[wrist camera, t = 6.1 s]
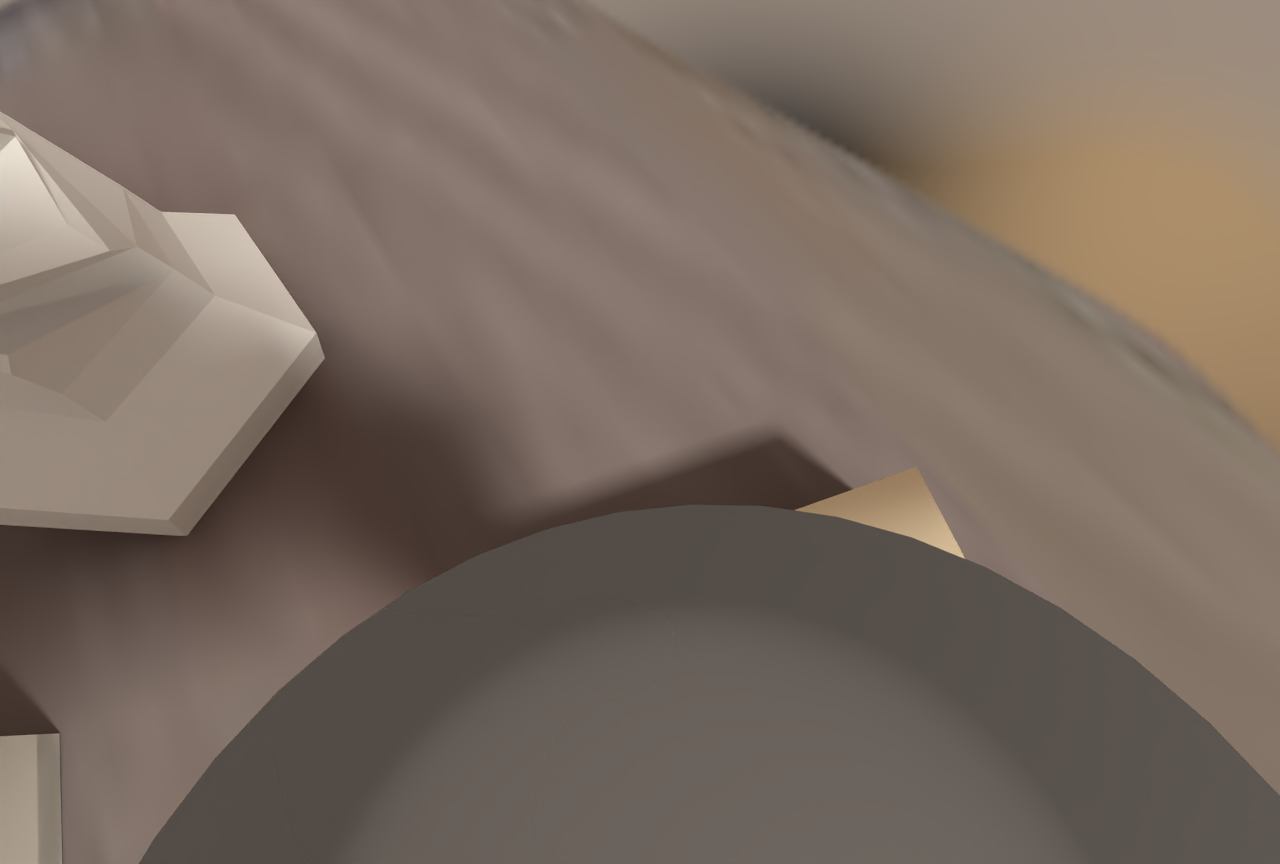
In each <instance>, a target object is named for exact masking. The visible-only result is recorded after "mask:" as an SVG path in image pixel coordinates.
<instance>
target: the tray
mask: <svg viewBox="0 0 1280 864" xmlns="http://www.w3.org/2000/svg"><path fill="white" fill-rule="evenodd" d="M0 864H62V829H61V782H60V736H59V733H56V734H37V735H17V736H0Z"/></svg>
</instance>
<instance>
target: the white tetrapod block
mask: <svg viewBox="0 0 1280 864" xmlns="http://www.w3.org/2000/svg"><path fill="white" fill-rule="evenodd" d="M324 359H325V357H324V354H323V351H322V348H321V345H320V342H319V339H318V336H317V333H316V332H315V330H314V329H313V327H312V326H311V324H310V323H309V322H308V320H307V319H306V317H305V316H304V314H303V313H302V311H301V310H300V309H299V307H298V306H297V304H296V303H295V301H294V300H293V298H292V297H291V296H290V294H289V293H288V291H287V290H286V288H285V287H284V285H283V284H282V282H281V281H280V280H279V278H278V277H277V275H276V274H275V272H274V271H273V269H272V268H271V267H270V265H269V264H268V262H267V261H266V259H265V258H264V256H263V255H262V254H261V252H260V251H259V249H258V248H257V246H256V245H255V243H254V242H253V240H252V239H251V238H250V236H249V235H248V233H247V232H246V230H245V229H244V227H243V226H242V225H241V223H240V222H239V220H238V219H237V217H236V216H235V215H232V214H205V213H178V212H161V211H159V210H157V209H156V208H154V207H153V206H151V205H150V204H148V203H147V202H145V201H144V200H142V199H141V198H139V197H138V196H136V195H135V194H133V193H132V192H130V191H129V190H127V189H126V188H124V187H122V186H121V185H119V184H118V183H116V182H114V181H113V180H111V179H109V178H108V177H106V176H105V175H103V174H101V173H100V172H98V171H96V170H95V169H93V168H91V167H90V166H88V165H87V164H85V163H83V162H82V161H80V160H78V159H77V158H75V157H74V156H72V155H70V154H69V153H67V152H65V151H64V150H62V149H60V148H59V147H57V146H56V145H54V144H52V143H51V142H49V141H47V140H46V139H44V138H42V137H41V136H39V135H38V134H36V133H34V132H33V131H31V130H29V129H28V128H26V127H25V126H23V125H21V124H20V123H18V122H16V121H15V120H13V119H11V118H10V117H8V116H7V115H5V114H3V113H2V112H0V525H14V526H30V527H46V528H62V529H78V530H94V531H110V532H126V533H142V534H158V535H174V536H187V535H188V534H189V533H190V531H191V530H192V529H193V528H194V526H195V525H196V524H197V522H198V521H199V520H200V519H201V517H202V516H203V515H204V513H205V512H206V511H207V510H208V508H209V507H210V506H211V504H212V503H213V502H214V501H215V499H216V498H217V497H218V495H219V494H220V493H221V492H222V490H223V489H224V488H225V486H226V485H227V484H228V482H229V481H230V480H231V479H232V477H233V476H234V475H235V473H236V472H237V471H238V470H239V468H240V467H241V466H242V464H243V463H244V462H245V461H246V459H247V458H248V457H249V455H250V454H251V453H252V452H253V450H254V449H255V448H256V446H257V445H258V444H259V442H260V441H261V440H262V439H263V437H264V436H265V435H266V433H267V432H268V431H269V430H270V428H271V427H272V426H273V424H274V423H275V422H276V421H277V419H278V418H279V417H280V415H281V414H282V413H283V412H284V410H285V409H286V408H287V406H288V405H289V404H290V403H291V401H292V400H293V399H294V397H295V396H296V395H297V393H298V392H299V391H300V390H301V388H302V387H303V386H304V384H305V383H306V382H307V381H308V379H309V378H310V377H311V375H312V374H313V373H314V372H315V370H316V369H317V368H318V366H319V365H320V364H321V363H322V361H323V360H324Z"/></svg>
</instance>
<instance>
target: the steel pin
mask: <svg viewBox="0 0 1280 864" xmlns="http://www.w3.org/2000/svg"><path fill="white" fill-rule="evenodd" d="M139 864H1280V796H1279V795H1278V794H1277V793H1276V792H1275V790H1274V789H1273V788H1272V787H1271V786H1270V785H1269V784H1268V783H1267V782H1266V781H1265V780H1264V779H1263V778H1262V777H1261V776H1260V775H1259V774H1258V773H1257V772H1256V771H1255V770H1254V769H1253V768H1252V767H1251V766H1250V765H1249V763H1248V762H1247V761H1246V760H1245V759H1244V758H1243V757H1242V756H1241V755H1240V754H1239V753H1238V752H1237V751H1236V750H1235V749H1234V748H1233V747H1232V746H1231V745H1230V744H1229V743H1228V742H1227V741H1226V740H1225V739H1224V737H1223V736H1222V735H1221V734H1220V733H1219V732H1218V731H1217V730H1216V729H1215V728H1214V727H1213V726H1212V725H1211V724H1210V723H1209V722H1208V721H1206V720H1205V719H1204V718H1203V717H1202V716H1201V715H1199V714H1198V713H1197V712H1196V711H1195V710H1194V709H1192V708H1191V707H1190V706H1189V705H1188V704H1187V703H1185V702H1184V701H1183V700H1182V699H1181V698H1180V697H1178V696H1177V695H1176V694H1175V693H1174V692H1173V691H1171V690H1170V689H1169V688H1168V687H1167V686H1166V685H1164V684H1163V683H1162V682H1161V681H1160V680H1159V679H1157V678H1156V677H1155V676H1154V675H1153V674H1152V673H1150V672H1149V671H1148V670H1147V669H1146V668H1144V667H1143V666H1142V665H1141V664H1140V663H1139V662H1137V661H1136V660H1135V659H1134V658H1132V657H1131V656H1129V655H1128V654H1126V653H1125V652H1123V651H1122V650H1121V649H1119V648H1118V647H1116V646H1115V645H1113V644H1112V643H1110V642H1109V641H1108V640H1106V639H1105V638H1103V637H1102V636H1100V635H1099V634H1097V633H1096V632H1095V631H1093V630H1092V629H1090V628H1089V627H1087V626H1086V625H1084V624H1083V623H1082V622H1080V621H1079V620H1077V619H1076V618H1074V617H1073V616H1071V615H1070V614H1069V613H1067V612H1066V611H1064V610H1063V609H1061V608H1060V607H1058V606H1056V605H1054V604H1052V603H1050V602H1049V601H1047V600H1045V599H1043V598H1041V597H1039V596H1038V595H1036V594H1034V593H1032V592H1030V591H1028V590H1027V589H1025V588H1023V587H1021V586H1019V585H1017V584H1015V583H1014V582H1012V581H1010V580H1008V579H1006V578H1004V577H1003V576H1001V575H999V574H997V573H995V572H993V571H992V570H990V569H988V568H986V567H984V566H981V565H979V564H976V563H974V562H971V561H969V560H966V559H964V558H961V557H959V556H957V555H954V554H952V553H949V552H947V551H944V550H942V549H939V548H937V547H934V546H932V545H929V544H927V543H925V542H922V541H920V540H917V539H915V538H912V537H909V536H905V535H902V534H898V533H895V532H891V531H887V530H884V529H880V528H876V527H873V526H869V525H865V524H862V523H858V522H855V521H851V520H847V519H844V518H840V517H836V516H829V515H822V514H815V513H809V512H802V511H795V510H788V509H782V508H775V507H768V506H747V505H701V504H689V505H679V506H670V507H660V508H651V509H641V510H632V511H622V512H616V513H612V514H608V515H603V516H599V517H595V518H591V519H586V520H582V521H578V522H574V523H570V524H565V525H561V526H557V527H553V528H548V529H546V530H543V531H540V532H538V533H535V534H532V535H529V536H527V537H524V538H521V539H519V540H516V541H513V542H511V543H508V544H505V545H503V546H500V547H497V548H495V549H492V550H489V551H487V552H484V553H481V554H479V555H477V556H475V557H473V558H471V559H469V560H467V561H465V562H463V563H461V564H459V565H457V566H455V567H453V568H452V569H450V570H448V571H446V572H444V573H442V574H440V575H438V576H436V577H434V578H432V579H430V580H428V581H426V582H425V583H423V584H421V585H419V586H417V587H415V588H413V589H411V590H409V591H408V592H406V593H405V594H403V595H402V596H400V597H399V598H398V599H396V600H395V601H393V602H392V603H390V604H389V605H387V606H386V607H384V608H383V609H381V610H380V611H378V612H377V613H375V614H374V615H373V616H371V617H370V618H368V619H367V620H365V621H364V622H362V623H361V624H359V625H358V626H356V627H355V628H353V629H352V630H350V631H349V632H348V633H346V634H345V635H343V636H342V637H341V638H340V639H338V640H337V641H336V642H335V643H334V644H333V645H331V646H330V647H329V648H328V649H327V650H326V651H324V652H323V653H322V654H321V655H320V656H319V657H317V658H316V659H315V660H314V661H313V662H312V663H311V664H309V665H308V666H307V667H306V668H305V669H304V670H302V671H301V672H300V673H299V674H298V675H297V676H295V677H294V678H293V679H292V680H291V681H290V682H288V683H287V684H286V685H285V686H284V687H283V688H281V689H280V690H279V691H278V692H277V693H276V694H275V695H274V696H273V697H272V698H271V699H270V701H269V702H268V703H267V704H266V705H265V706H264V707H263V708H262V709H261V710H260V711H259V712H258V713H257V714H256V715H255V717H254V718H253V719H252V720H251V721H250V722H249V723H248V724H247V725H246V726H245V727H244V728H243V729H242V730H241V731H240V733H239V734H238V735H237V736H236V737H235V738H234V739H233V740H232V741H231V742H230V743H229V744H228V745H227V746H226V747H225V749H224V750H223V751H222V752H221V753H220V754H219V755H218V756H217V757H216V758H215V759H214V761H213V762H212V763H211V765H210V766H209V767H208V769H207V770H206V771H205V773H204V774H203V775H202V777H201V778H200V779H199V780H198V782H197V783H196V784H195V786H194V787H193V788H192V790H191V791H190V792H189V794H188V795H187V796H186V798H185V799H184V800H183V801H182V803H181V804H180V805H179V807H178V808H177V809H176V811H175V812H174V813H173V815H172V816H171V817H170V819H169V820H168V821H167V823H166V824H165V825H164V826H163V828H162V829H161V830H160V832H159V833H158V834H157V836H156V837H155V839H154V840H153V842H152V843H151V845H150V847H149V848H148V850H147V852H146V853H145V855H144V856H143V858H142V860H141V861H140V863H139Z"/></svg>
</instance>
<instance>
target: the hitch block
mask: <svg viewBox="0 0 1280 864" xmlns="http://www.w3.org/2000/svg"><path fill="white" fill-rule="evenodd" d="M795 511H802V512H809V513H815V514H822V515H829V516H836V517H840V518H844V519H847V520H851V521H855V522H858V523H862V524H865V525H869V526H873V527H876V528H880V529H884V530H887V531H891V532H895V533H898V534H902V535H905V536H909V537H912V538H915V539H917V540H920V541H922V542H925V543H927V544H929V545H932V546H934V547H937V548H939V549H942V550H944V551H947V552H949V553H952V554H954V555H957V556H959V557H961V558H964V556H963V554H962V552H961V550H960V548H959V546H958V544H957V543H956V541H955V539H954V537H953V535H952V533H951V531H950V529H949V527H948V526H947V524H946V522H945V520H944V518H943V516H942V514H941V512H940V510H939V509H938V507H937V505H936V503H935V501H934V499H933V497H932V495H931V493H930V492H929V490H928V488H927V486H926V484H925V482H924V480H923V478H922V476H921V475H920V473H919V471H918V469H917V467H915V468H912V469H909V470H907V471H904V472H901V473H898V474H895V475H892V476H890V477H887V478H884V479H881V480H878V481H875V482H873V483H870V484H867V485H864V486H861V487H859V488H856V489H853V490H850V491H847V492H844V493H842V494H839V495H836V496H833V497H830V498H827V499H825V500H822V501H819V502H816V503H813V504H810V505H808V506H805V507H802V508H799V509H796V510H795ZM964 559H965V558H964Z"/></svg>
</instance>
